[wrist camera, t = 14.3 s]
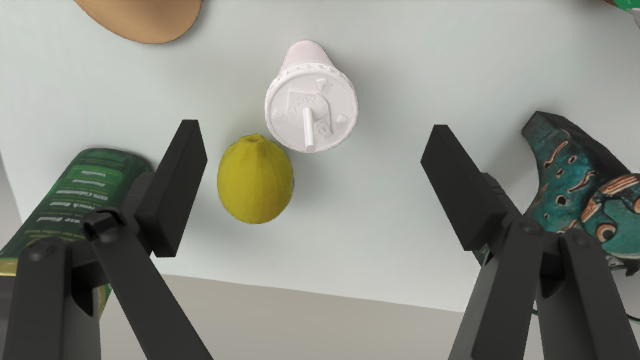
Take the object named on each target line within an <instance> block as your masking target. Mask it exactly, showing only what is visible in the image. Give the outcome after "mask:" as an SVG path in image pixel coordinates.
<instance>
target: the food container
mask: <svg viewBox="0 0 640 360" xmlns="http://www.w3.org/2000/svg"><path fill="white" fill-rule="evenodd" d="M603 1H605V2H607V3H609V4H612V5H614V6H616V7H618V8H620V9H623V10H625V11H627V12H629V13H631V14H633V17H634V21H635V22H636V24H637V25H638V27H639V29H640V0H603Z"/></svg>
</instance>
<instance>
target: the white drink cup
mask: <svg viewBox="0 0 640 360" xmlns="http://www.w3.org/2000/svg"><path fill="white" fill-rule="evenodd" d="M264 106H265V120H266V124H267V126H268V129H269V130H270V132H271V134H272V135H273V136H274V137H275V139H276V140H278V141H279V142H280V143H281V144H283V145H284V146H286V147H288V148H290V149H292V150H295V151H299V152H305V153H316V152H322V151H326V150H329V149H331V148H333V147H335V146H337V145H339V144H340V143H342V142H343V141H344V140H345V139H346V138H347V137H348V136H349V135H350V133H351V132H352V131H353V129H354V127H355V125H356V122H357V119H358V112H359V108H358V101H357V96H356V92H355V90H354V87H353V85H352V83H351V82H350V81H349V79H348V78H347V77H346V76H345V75H344V74H343V73H342V72H340V71H338V70H337V69H336V68H335V67H334V65H333V64H332V62H331V61H330V59H329V58H328V56H327V55H326V53H325V52H324V50H323V49H322V48H321V46H319V45H318V44H317V43H315V42H313V41H309V40H302V41H299V42H297V43H295V44H293V45H292V46H291V47H290V49H289V50H288V52H287V54H286V57H285V60H284V62H283V65H282V67H281V70H280V72H279V75H278V77H277V78H276V79H275V80H274V81H273V82H272V83H271V85H270V87H269V89H268V91H267V93H266V98H265V103H264Z"/></svg>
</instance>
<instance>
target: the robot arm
mask: <svg viewBox="0 0 640 360" xmlns="http://www.w3.org/2000/svg"><path fill="white" fill-rule="evenodd" d="M207 161H208V159H207V155H206V151H205V147H204V143H203V139H202V135H201V131H200V127H199V123H198V120H182V122H181V124H180V126H179V128H178V130H177V132H176V134H175V136H174V138H173V139H172V141H171V143H170V145H169V147H168V149H167V151H166V153H165V155H164V157H163V159H162V161H161V163H160V165H159V167H158V169H157V171H156V172H143V173H142V174H141V175H140V176H138V177H137V178H136V179H135V180H134V182H133V183H132V185H131V187H130V190H128V192H127V194H126V197H124V199H123V201H122V202H121V204H120V206H119V208H117V207H113V206H103V207H100V208H97V209H94V210H92V211H90V212H89V213H87V214H86V215H85V216H84V217H83V218H82V219H81V221H80V223H79V230H80V231H81V232H82V233H83V235H84V236H85V237H86V238H82V239H78V240H74V241H70V242H65V241H64V240H63V239H62V238H60V237H58V236H49V237H44V238H41V239H39V240H36V241H34V242H33V243H31V244H30V245H28V246H27V247H26V248H25V249H24V250H23V251H22V252H21V254H20V256H19V258H18V263H17V270H16V276H15V282H14V289H13V295H12V301H11V308H10V314H9V321H8V327H7V333H6V340H5V346H4V352H3V359H2V360H101V348H100V328H99V309H98V289H97V287H99V286H103V285H106V284H109V283H110V285H111V287H112V289H113V291H114V293H115V295H116V297H117V299H118V300H119V303H120V305H121V307H122V309H123V311H124V313H125V315H126V317H127V319H128V321H129V323H130V325H131V327H132V329H133V331H134V333H135V335H136V337H137V339H138V341H139V343H140V346H141V348H142V350H143V352H144V354H145V356H146V357H147V360H213V358H212V356H211V355H210V353H209V352H208V350H207V348H206V347H205V346H204V344H203V342H202V340H201V339H200V337H199V336H198V334H197V333H196V331H195V329H194V328H193V326H192V325H191V323H190V321H189V320H188V318H187V316H186V315H185V313H184V312H183V310H182V309H181V307H180V305H179V304H178V302H177V301H176V299H175V297H174V296H173V294H172V293H171V291H170V290H169V288H168V286H167V285H166V283H165V281H164V280H163V278H162V277H161V275H160V273H159V272H158V270H157V269H156V267H155V266H154V264H153V262H152V261H151V259H150V258H149V257H150V255H151V252H152V250H153V252H154V254H155V256H156V257H157V258H158V257H175V256H176V253H177V250H178V247H179V244H180V241H181V238H182V235H183V232H184V229H185V226H186V223H187V220H188V217H189V214H190V212H191V209H192V206H193V203H194V200H195V197H196V194H197V191H198V188H199V185H200V182H201V179H202V176H203V173H204V170H205V167H206V164H207ZM420 162H421V164H422V166H423V168H424V170H425V172H426V174H427V176H428V178H429V180H430V182H431V184H432V186H433V189H434V191H435V193H436V195H437V197H438V199H439V201H440V203H441V205H442V207H443V209H444V211H445V213H446V215H447V217H448V219H449V221H450V223H451V225H452V227H453V229H454V231H455V233H456V235H457V237H458V239H459V241H460V243H461V245H462V247H463V249H464V251H480V250H481V248H482V247H483V246H484V244H485V243H486V244H487V246H488V247H489V249H490V250H489V251H488V252H487V254H486V255H485V256H484V258H483V259H482V260H481V261H480V264H482V263H483V264H482V267H481V270H480V273H479V275H478V278H477V281H476V284H475V286H474V289H473V292H472V295H471V297H470V300H469V303H468V306H467V308H466V311H465V314H464V317H463V319H462V322H461V325H460V328H459V331H458V333H457V336H456V339H455V341H454V344H453V347H452V350H451V353H450V355H449V358H448V360H523V356H524V351H525V346H526V341H527V336H528V330H529V325H530V320H531V314H532V309H533V304H534V298H535V297H536V303H537V311H538V318H539V325H540V332H541V339H542V346H543V354H544V360H640V350H639V347H638V345H637V342H636V339H635V336H634V334H633V331H632V328H631V325H630V323H629V320H628V317H627V314H626V312H625V309H624V306H623V304H622V301H621V298H620V295H619V293H618V290H617V287H616V284H615V282H614V279H613V276H612V273H611V271H610V268H609V265H608V263H607V260H606V257H605V254H604V252H603V249H602V246H601V244H600V243H599V241H598V240H597V239H596V238H595V237H594V236H592V235H591V234H589V233H588V232H586V231H584V230H581V229H578V228H568V229H567V230H566V231H565V232H564V233H563V234H559V233H555V232H551V231H547V230H545V229H544V228H543V226H542V225H541V224H540V223H538V222H537V221H535V220H534V219H532V218H529V217H526V216H522V214H521V213H520V212H519V210H518V209H517V208H516V206H515V205H514V204H513V202H512V201H511V200H510V198H509V197H508V196H507V195H506V193H505V192H504V190H503V189H501V186H500V185H499V183H498V182H497V181H496V179H494V178H493V177H492V176H490V175H489V174H488V173H481V172H480V171H479V169H478V168H477V167H476V165H475V164H474V162H473V161H472V159H471V158H470V157H469V155H468V154H467V152H466V151H465V150H464V148H463V147H462V145H461V144H460V142H459V141H458V140H457V138H456V137H455V135H454V134H453V132H452V131H451V130H450V128H449V127H448V125H434V127H433V129H432V132H431V135H430V137H429V140H428V143H427V145H426V148H425V151H424V153H423V156H422V159H421V161H420Z"/></svg>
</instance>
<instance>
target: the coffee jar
mask: <svg viewBox="0 0 640 360" xmlns="http://www.w3.org/2000/svg"><path fill="white" fill-rule="evenodd" d="M143 172H152V170H151V169H150V167H149V166H148V164H146V163H145V162H144V161H142V160H141V159H139V158H137V157H135V156H132V155H130V154H128V153H124V152H121V151H117V150H110V149H97V148H93V149H87V150H84V151H82V152H80V153H79V154H78V155H77V156H76V157H75V158H74V160H73V161H72V162H71V163H70V165H69V166H68V167H67V168H66V170H65V171H64V172H63V173H62V175H61V176H60V177H59V179H58V180H57V181H56V183H55V184H54V185H53V187H52V188H51V189H50V191H49V192H48V193H47V195H46V196H45V197H44V199H43V200H42V201H41V202H40V204H39V205H38V206H37V207H36V209H35V210H34V211H33V212H32V214H31V215H30V216H29V217H28V219H27V220H26V221H25V222H24V224H23V225H22V226H21V227H20V229H19V230H18V231H17V232H16V234H15V235H14V236H13V237H12V239H11V240H10V241H9V242H8V243H7V245H5V246H4V248H3V249H2V250H1V251H0V360H2V359H3V352H4V346H5V340H6V333H7V327H8V321H9V314H10V308H11V301H12V295H13V289H14V282H15V276H16V270H17V263H18V258H19V256H20V254H21V252H22V251H23V250H24V249H25V248H26V247H27V246H28V245H30V244H31V243H33V242H34V241H36V240H39V239H41V238H44V237H49V236H58V237H60V238H62V239H63V240H64V241H65V242H70V241H74V240H78V239H82V238H86V237H85V236H84V235H83V233H82V232H81V231H80V230H79V223H80V221H81V219H82V218H83V217H84V216H85V215H86V214H87V213H89V212H90V211H92V210H94V209H97V208H100V207H103V206H113V207H117V208H119V206H120V204H121V202H122V201H123V199H124V197H126V194H127V192H128V190H130V187H131V185H132V183H133V182H134V180H135V179H136V178H137V177H138V176H140V175H141V174H142V173H143ZM97 289H98V309H99V320H100V317H101V315H102V312H103V310H104V307H105V305H106V302H107V300H108V297H109V295H110V293H111V290H112V287H111V285H110V283H109V284H106V285H103V286H99V287H97Z"/></svg>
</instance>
